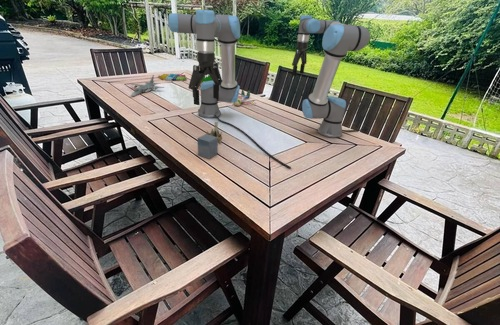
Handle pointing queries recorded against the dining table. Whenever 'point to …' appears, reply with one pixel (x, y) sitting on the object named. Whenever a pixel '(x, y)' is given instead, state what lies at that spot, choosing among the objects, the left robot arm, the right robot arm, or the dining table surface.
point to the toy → (243, 98)
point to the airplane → (145, 87)
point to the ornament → (206, 79)
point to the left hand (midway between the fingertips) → (206, 101)
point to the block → (207, 146)
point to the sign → (172, 77)
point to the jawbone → (216, 132)
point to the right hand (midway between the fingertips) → (297, 74)
